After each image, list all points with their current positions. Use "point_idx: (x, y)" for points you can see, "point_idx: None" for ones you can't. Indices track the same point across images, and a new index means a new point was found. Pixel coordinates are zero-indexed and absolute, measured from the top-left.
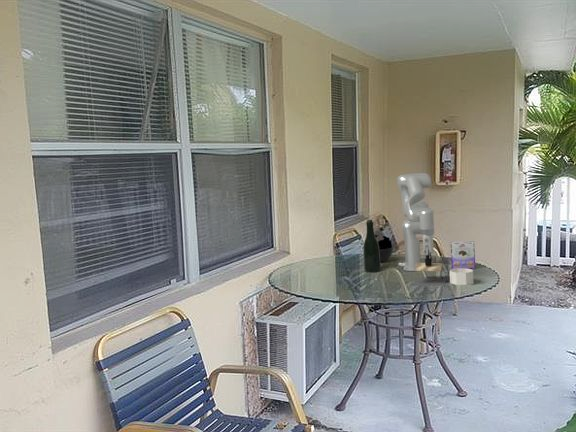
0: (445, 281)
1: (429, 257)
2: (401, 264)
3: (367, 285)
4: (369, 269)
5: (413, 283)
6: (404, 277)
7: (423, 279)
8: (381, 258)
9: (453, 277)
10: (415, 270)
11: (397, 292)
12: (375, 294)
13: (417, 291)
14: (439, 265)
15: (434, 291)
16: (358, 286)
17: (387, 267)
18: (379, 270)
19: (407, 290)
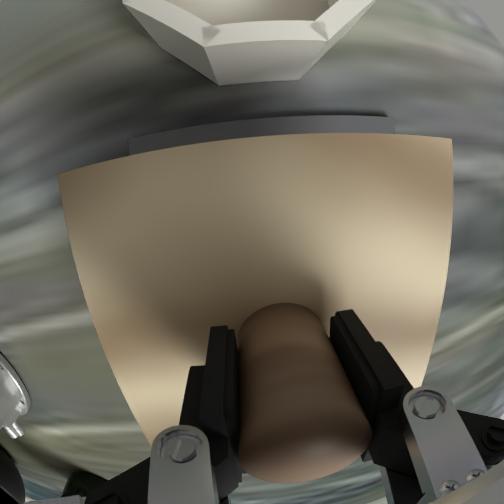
0: (245, 121)
1: (445, 409)
2: (17, 431)
3: (336, 479)
4: None
5: None
6: None
7: None
8: (4, 461)
9: (344, 29)
10: None
11: (472, 359)
12: (470, 409)
13: (479, 280)
14: (238, 178)
15: (486, 184)
16: (349, 487)
17: (32, 447)
18: (94, 477)
19: (454, 334)
